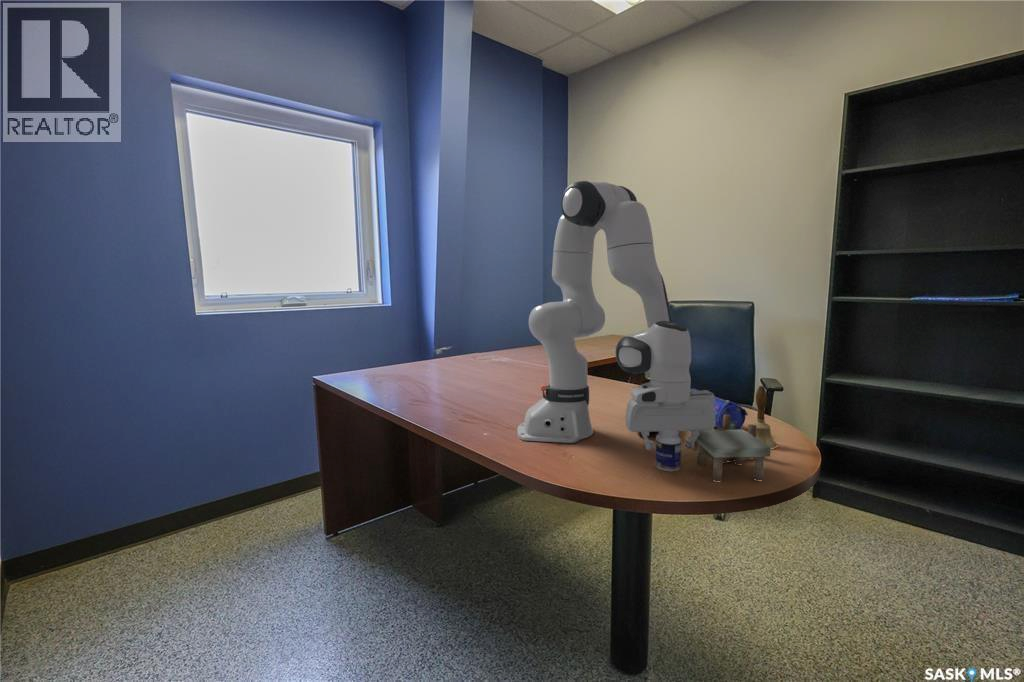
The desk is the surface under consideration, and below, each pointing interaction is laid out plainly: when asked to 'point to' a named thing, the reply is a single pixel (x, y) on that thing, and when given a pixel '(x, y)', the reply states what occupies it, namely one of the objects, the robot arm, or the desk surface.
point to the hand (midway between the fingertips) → (669, 448)
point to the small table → (731, 449)
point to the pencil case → (730, 409)
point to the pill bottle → (668, 450)
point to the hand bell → (761, 427)
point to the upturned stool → (727, 427)
